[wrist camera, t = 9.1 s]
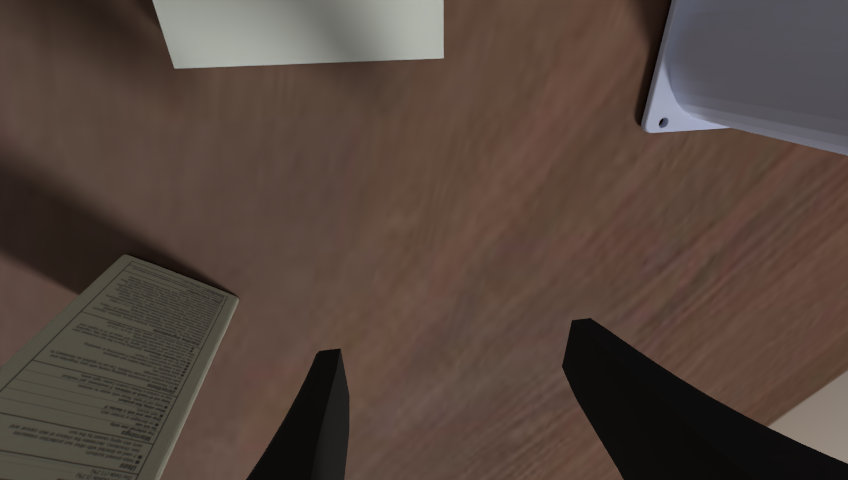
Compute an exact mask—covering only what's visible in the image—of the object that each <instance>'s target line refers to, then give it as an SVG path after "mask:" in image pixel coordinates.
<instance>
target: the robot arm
mask: <svg viewBox="0 0 848 480" xmlns="http://www.w3.org/2000/svg"><path fill="white" fill-rule="evenodd" d="M662 118H663V122H662V124H661V125H660V126H659V122H660V120H661V119H662ZM641 127H642V129H643V130H644V131H646V132H649V133H657V132H673V131H688V130H703V129H719V128H735V129H739V130H743V131H748V132H752V133H756V134H760V135H764V136H768V137H773V138H777V139H781V140H785V141H789V142H794V143H798V144H802V145H806V146H810V147H814V148H819V149H823V150H827V151H831V152H835V153H839V154H844V155H848V0H672V2H671V6H670V10H669V14H668V18H667V22H666V26H665V30H664V34H663V38H662V42H661V46H660V50H659V54H658V58H657V62H656V66H655V70H654V74H653V78H652V82H651V86H650V90H649V94H648V98H647V103H646V107H645V111H644V115H643V119H642V123H641ZM562 368H563V370H564V372H565V375H566V377H567V379H568V382H569V384H570V386H571V389H572V391H573V393H574V395H575V397H576V399H577V401H578V403H579V404H580V406H581V408H582V409H583V411H584V413H585V415H586V416H587V418H588V420H589V421H590V423H591V425H592V426H593V428H594V430H595V431H596V433H597V435H598V436H599V438H600V440H601V441H602V443H603V445H604V446H605V448H606V450H607V451H608V453H609V455H610V456H611V458H612V460H613V461H614V463H615V465H616V467H617V468H618V470H619V472H620V474H621V475H622V477H623V479H624V480H848V464H847V463H844V462H842V461H840V460H837V459H835V458H833V457H830V456H828V455H826V454H823V453H821V452H819V451H817V450H815V449H812V448H810V447H808V446H806V445H803V444H801V443H799V442H797V441H795V440H793V439H791V438H789V437H787V436H784V435H782V434H780V433H778V432H776V431H774V430H772V429H770V428H768V427H766V426H764V425H762V424H760V423H758V422H756V421H754V420H752V419H750V418H748V417H746V416H744V415H742V414H741V413H739V412H737V411H735V410H733V409H731V408H730V407H728V406H726V405H724V404H722V403H720V402H719V401H717V400H715V399H713V398H712V397H710V396H708V395H706V394H705V393H703V392H701V391H700V390H698V389H696V388H695V387H693V386H691V385H690V384H688V383H686V382H685V381H683V380H682V379H680V378H678V377H677V376H675V375H674V374H672V373H671V372H669V371H667V370H666V369H664V368H663V367H661V366H660V365H658V364H657V363H655V362H654V361H652V360H651V359H649V358H648V357H646V356H645V355H643V354H642V353H640V352H639V351H638V350H636V349H635V348H633V347H632V346H630V345H629V344H627V343H626V342H625V341H623V340H622V339H620V338H619V337H617V336H616V335H614V334H613V333H612V332H610V331H609V330H607V329H606V328H604V327H603V326H601V325H600V324H598V323H597V322H595V321H594V320H592V319H591V318H588V319H580V320H572V323H571V328H570V332H569V337H568V342H567V346H566V351H565V356H564V360H563V365H562ZM348 437H349V391H348V386H347V381H346V375H345V370H344V365H343V359H342V354H341V349H333V350H324V351H319V352H318V353H317V354H316V356H315V359H314V361H313V363H312V366H311V368H310V370H309V372H308V375H307V377H306V379H305V381H304V383H303V385H302V387H301V389H300V391H299V393H298V395H297V397H296V399H295V400H294V402H293V404H292V406H291V408H290V410H289V412H288V413H287V415H286V417H285V419H284V421H283V422H282V424H281V426H280V427H279V429H278V431H277V432H276V434H275V436H274V437H273V439H272V441H271V442H270V444H269V446H268V447H267V449H266V450H265V452H264V454H263V455H262V457H261V458H260V460H259V461H258V463H257V464H256V466H255V467H254V469H253V470H252V472H251V473H250V475H249V476H248V478H247V479H246V480H344V476H345V466H346V457H347V447H348Z"/></svg>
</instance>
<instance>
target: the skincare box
mask: <svg viewBox="0 0 848 480" xmlns="http://www.w3.org/2000/svg"><path fill="white" fill-rule="evenodd" d="M238 302H239V299H238V297H236V296H234V295H231V294H229V293H227V292H224V291H222V290H219V289H217V288H214V287H212V286H209V285H206V284H204V283H201V282H199V281H196V280H194V279H191V278H188V277H185V276H183V275H180V274H178V273H175V272H173V271H170V270H168V269H165V268H162V267H160V266H157V265H155V264H152V263H149V262H146V261H143V260H140V259H138V258H135V257H132V256H129V255H122V256H121V257H120V258H119V259H118V260H117V261H116V262H115V263H113V264H112V265H111V266H110V267H109V268H108V269H107V270H106V271H105V272H104V273H103V274H101V275H100V276H99V277H98V278H97V279H96V280H95V281H94V282H93V283H92V284H91V285H90V286H89V287H87V288H86V289H85V290H84V291H83V292H82V293H81V294H80V295H79V296H78V297H77V298H76V299H74V300H73V301H72V302H71V303H70V304H69V305H68V306H67V307H66V308H65V309H64V310H63V311H62V312H60V313H59V314H58V315H57V316H56V317H55V318H54V319H53V320H51V321H50V322H49V323H48V324H47V325H46V326H45V327H44V328H43V329H42V330H41V331H40V332H38V333H37V334H36V335H35V336H34V337H33V338H32V339H31V340H30V341H29V342H28V343H27V344H26V345H24V346H23V347H22V348H21V349H20V350H19V351H18V352H17V353H16V354H15V355H13V356H12V357H11V358H10V359H9V360H8V361H7V362H6V363H5V364H4V365H2V366H1V367H0V480H159V479H160V477H161V475H162V473H163V470H164V468H165V466H166V464H167V461H168V459H169V457H170V455H171V453H172V450H173V448H174V446H175V444H176V441H177V439H178V437H179V435H180V432H181V430H182V428H183V426H184V423H185V421H186V419H187V416H188V414H189V412H190V410H191V407H192V405H193V403H194V401H195V398H196V396H197V394H198V392H199V390H200V387H201V385H202V383H203V381H204V378H205V376H206V374H207V372H208V369H209V367H210V365H211V363H212V360H213V358H214V356H215V354H216V351H217V349H218V347H219V344H220V342H221V340H222V338H223V336H224V334H225V331H226V329H227V327H228V325H229V323H230V320H231V318H232V315H233V313H234V311H235V309H236V306H237V304H238Z"/></svg>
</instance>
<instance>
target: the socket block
mask: <svg viewBox="0 0 848 480" xmlns="http://www.w3.org/2000/svg"><path fill="white" fill-rule="evenodd" d="M153 4H154V7H155V10H156V13H157V16H158V19H159V22H160V25H161V28H162V32H163V35H164V38H165V41H166V44H167V47H168V50H169V53H170V56H171V59H172V63H173V66H174V69H177V68H203V67H229V66H255V65H281V64H307V63H333V62H359V61H385V60H411V59H437V58H444V47H443V0H153Z"/></svg>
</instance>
